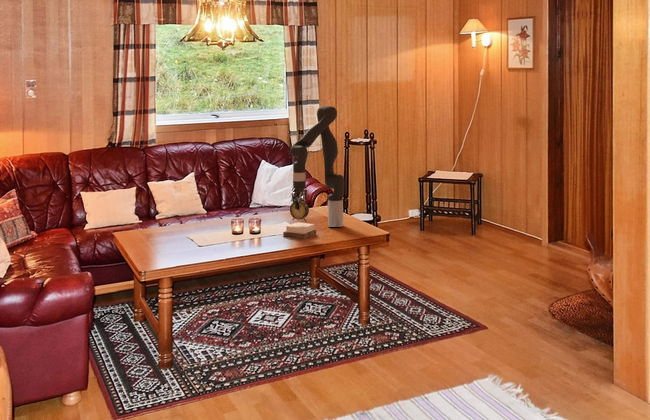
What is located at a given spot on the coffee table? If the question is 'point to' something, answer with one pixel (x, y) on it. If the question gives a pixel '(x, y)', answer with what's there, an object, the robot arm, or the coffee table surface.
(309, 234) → the walnut slab
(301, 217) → the alarm clock
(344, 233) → the coffee table surface
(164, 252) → the coffee table surface
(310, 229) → the cream slab
